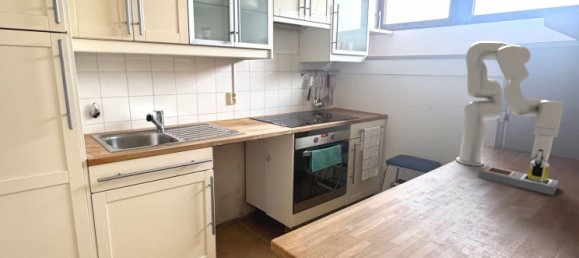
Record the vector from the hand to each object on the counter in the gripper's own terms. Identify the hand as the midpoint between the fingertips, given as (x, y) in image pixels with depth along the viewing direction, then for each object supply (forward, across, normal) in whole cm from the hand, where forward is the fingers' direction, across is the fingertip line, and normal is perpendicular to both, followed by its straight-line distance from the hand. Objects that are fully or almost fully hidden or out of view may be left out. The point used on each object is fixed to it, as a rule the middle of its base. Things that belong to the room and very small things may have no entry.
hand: (537, 173), depth 131 cm
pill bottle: (+4, 0, 0) cm, 4 cm away
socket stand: (+6, 0, -7) cm, 9 cm away
